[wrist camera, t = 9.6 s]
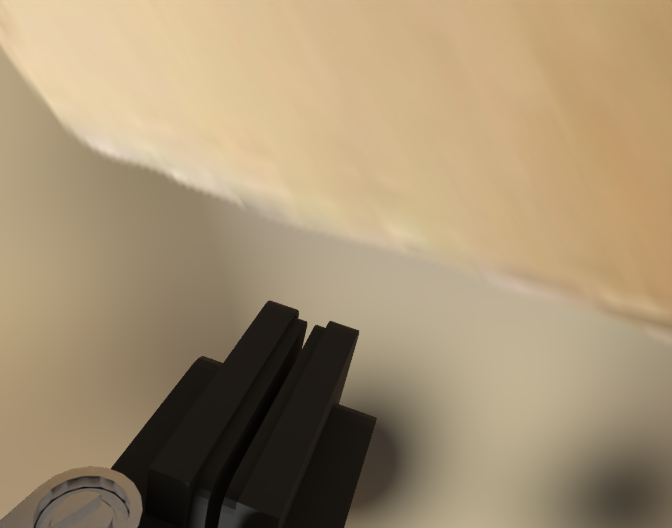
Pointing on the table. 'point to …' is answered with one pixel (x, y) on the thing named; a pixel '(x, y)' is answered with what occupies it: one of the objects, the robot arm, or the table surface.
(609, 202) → the table surface
